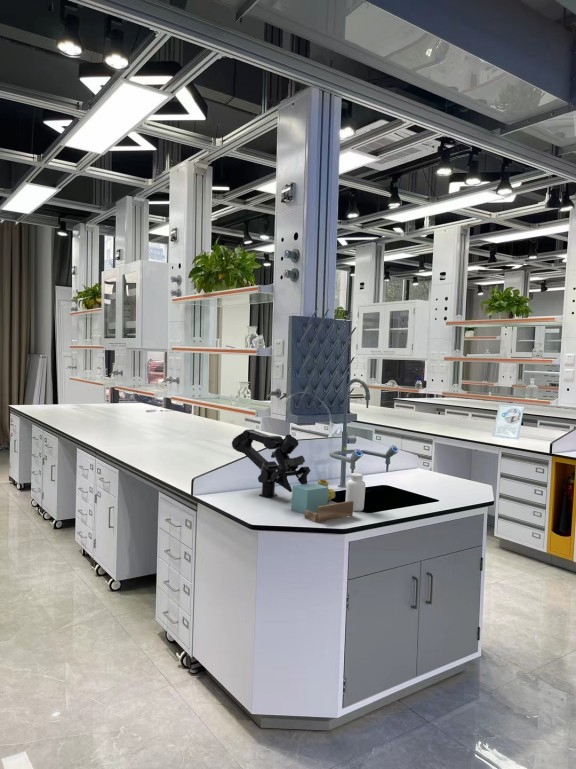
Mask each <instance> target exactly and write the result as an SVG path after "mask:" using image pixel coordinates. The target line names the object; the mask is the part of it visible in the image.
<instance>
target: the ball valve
mask: <svg viewBox="0 0 576 769" xmlns="http://www.w3.org/2000/svg"><path fill="white" fill-rule="evenodd" d="M317 484H319V485H323V486H326V487H328V502H330V501H331V500H332V499H335V498H336V491H335V490H334V489H333V488H329V481H328V480H327V479H323V478H322V479H319V480H318V483H317Z"/></svg>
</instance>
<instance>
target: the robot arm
mask: <svg viewBox="0 0 576 769" xmlns="http://www.w3.org/2000/svg"><path fill="white" fill-rule="evenodd" d="M253 442H258V443H260V444H262V445H263V446H264V448H266V449H268V450H274V451H272V452H271V456H270V458H271V459H274V458H275V460H276V461H274V460H273V461H268V460H267V459H265V457H263V455H262V454H260V452H258V451H257V450H256V449H255V448H254V447H253V444H252V443H253ZM298 446H299V441H298V439H297V438H295V437H294V436H292V434H286V435H285V437H284V438H283V437H282V436H281V435H269V434H265V433H262V432H260V431H258V430H255V429H245V430H244V431H243V432H242V433H240V434H238V435H236V436H235V437H233V438H232V441H231V447H232V449H234V450H235V451H236V452H238V453H242V454H244V455H245V456H246V457H247V458H248V459H249V460H250V461H251V462H252V463H253V464H254V465H255V466H256V467H257V468H258V469H259V470H260V474H259V475H258V476H257V480H258V483H261V484H262V485H261V486H262V487H261V492H260V493H259V494H258V496H260V497H266V498H271V499H272V498H273V497H274V498H275V497H276V496H278V494H277V493H276V491H275V490H276V484H278V485H279V486H281V487H283V488H284V489H285V490H286V491H288V492H289V493H292V489H293V488H292V486H291V485H290V482H289V480H288V477H292V476H293V477H294V476H295V477H296V479H297V481H298V483H300V485H301V484H308V475H309V474H310V472H311V469H310V467H309V466H303V465H304V463H305V462H306V460H305V457H304V455H299V456H297V457H292V458H291V457H290V456H289V455H291V454H292V453H293V452H294V451H295V450H296V448H298ZM299 466H300V467H299ZM298 468H299V469H298Z"/></svg>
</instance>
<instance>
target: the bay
mask: <svg viewBox="0 0 576 769" xmlns="http://www.w3.org/2000/svg"><path fill="white" fill-rule="evenodd" d="M353 502H354V501H347V502H345V501H343V502H337V503H332V504H331V503H330V504H327V505H324V506H318V511H317V513H314V512H311V511H308V510H305V514H303V516H304V519H306V520H308V521H312V522H314V523H320V524H321V523H324V522H330V521H333V520H339V518H340V519H343V517H345V518H348V517H347V516H350V517H353V516H352V515H353V514H354V513H353V512H354V511H353Z"/></svg>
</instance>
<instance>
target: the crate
mask: <svg viewBox="0 0 576 769" xmlns="http://www.w3.org/2000/svg"><path fill="white" fill-rule="evenodd" d="M291 489H292V492H291V508H290V510H293V511H295V512H298V513H300V514H303V515H305V510H308V511H311V512H314V513H317V511H318V506H324V505H328V502H329V501H328V489H329V486H328V487H326V486H323V485H319V484H318V483H315V482H310V483H308V482H307V484H301V483H300V484H295V485H292V488H291Z"/></svg>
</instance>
